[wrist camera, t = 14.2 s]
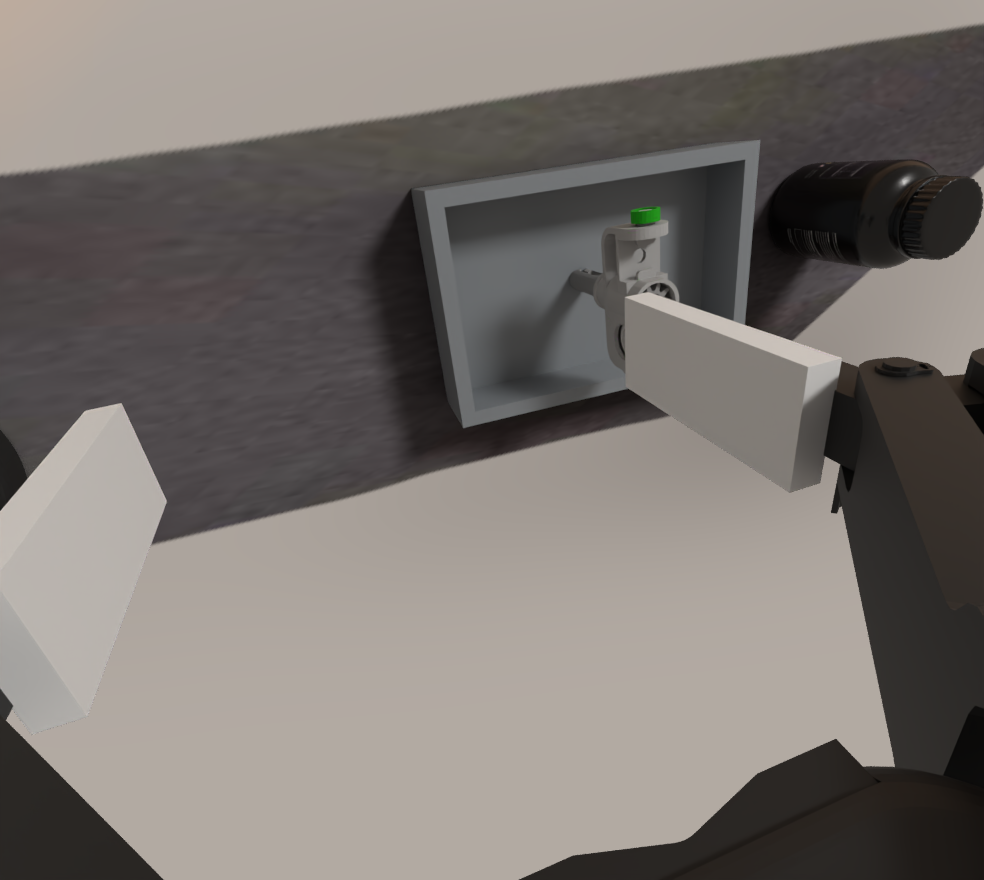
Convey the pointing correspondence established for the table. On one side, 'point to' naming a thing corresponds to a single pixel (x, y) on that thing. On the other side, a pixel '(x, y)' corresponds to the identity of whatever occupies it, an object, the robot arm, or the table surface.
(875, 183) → the supplement bottle
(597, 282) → the mechanical component
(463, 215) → the bin
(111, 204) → the table surface
